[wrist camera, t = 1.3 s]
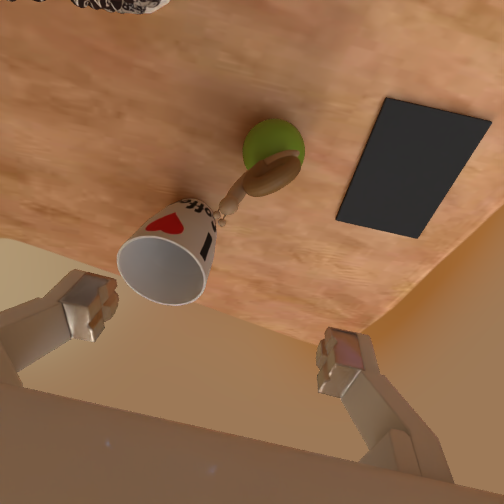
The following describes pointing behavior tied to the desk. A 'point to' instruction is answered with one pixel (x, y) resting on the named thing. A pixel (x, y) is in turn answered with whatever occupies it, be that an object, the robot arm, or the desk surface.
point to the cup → (171, 254)
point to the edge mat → (409, 166)
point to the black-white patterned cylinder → (120, 5)
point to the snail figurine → (265, 163)
